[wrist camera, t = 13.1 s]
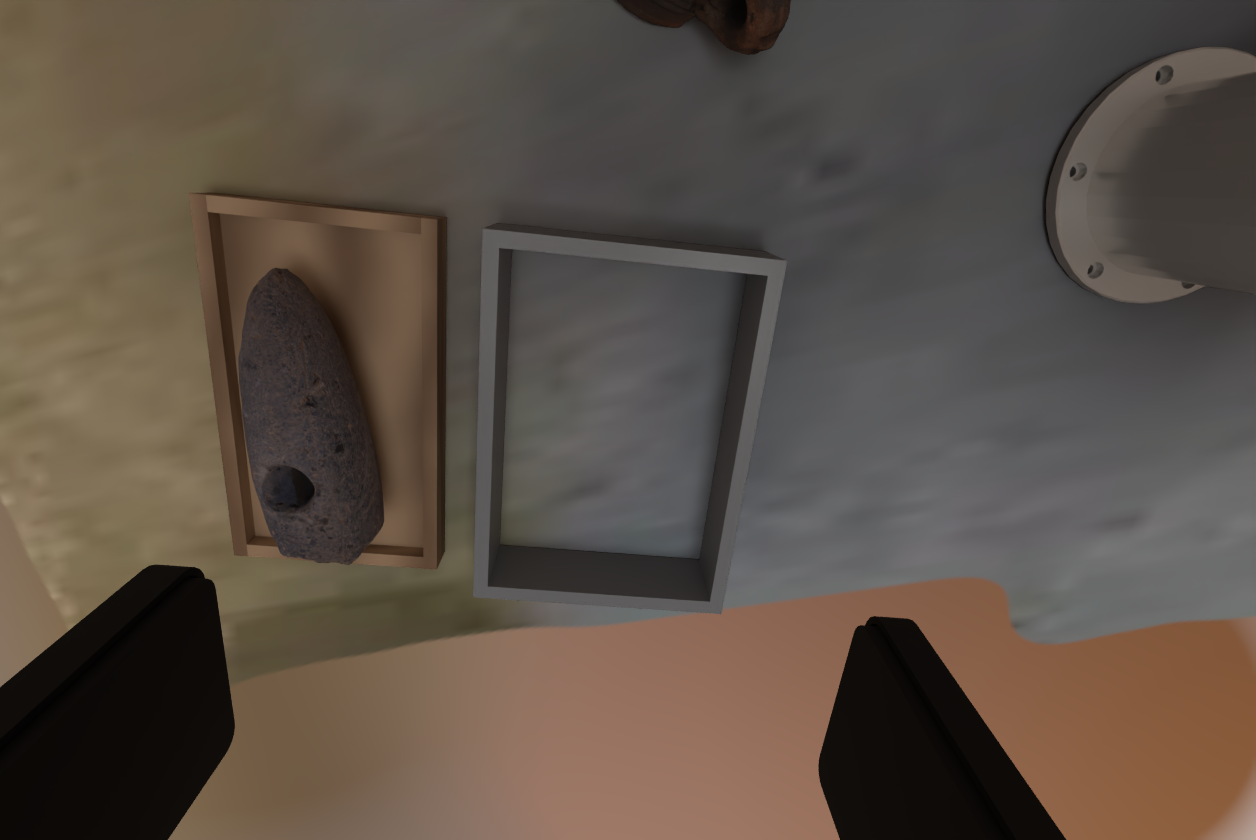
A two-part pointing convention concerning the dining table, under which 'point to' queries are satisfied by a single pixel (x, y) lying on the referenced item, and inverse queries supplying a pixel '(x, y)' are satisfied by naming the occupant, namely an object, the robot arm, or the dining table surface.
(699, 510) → the dining table surface
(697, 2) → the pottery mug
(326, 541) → the perforated stone tool
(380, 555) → the walnut tray
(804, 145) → the dining table surface
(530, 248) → the charcoal bin
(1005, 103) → the dining table surface
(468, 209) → the dining table surface
